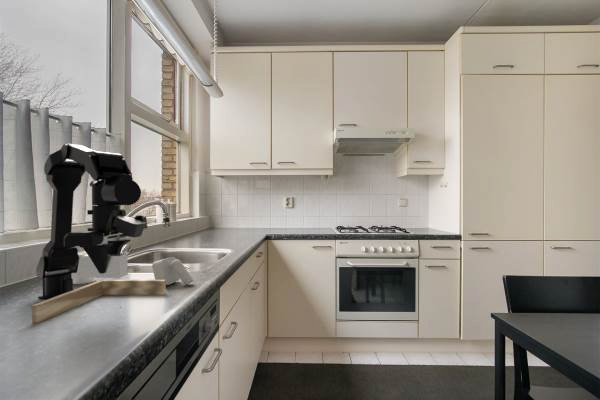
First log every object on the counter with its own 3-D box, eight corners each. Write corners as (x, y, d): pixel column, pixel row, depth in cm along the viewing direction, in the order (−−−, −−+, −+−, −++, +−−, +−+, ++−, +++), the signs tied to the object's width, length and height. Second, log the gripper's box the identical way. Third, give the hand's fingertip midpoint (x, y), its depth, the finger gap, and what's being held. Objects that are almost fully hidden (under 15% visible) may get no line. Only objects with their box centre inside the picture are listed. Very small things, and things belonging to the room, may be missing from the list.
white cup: (102, 280, 108) (102, 252, 108) (76, 286, 102) (76, 255, 102) (91, 278, 113) (91, 250, 113) (65, 282, 106) (65, 253, 106)
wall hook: (186, 287, 97) (179, 255, 97) (158, 293, 99) (151, 262, 99) (200, 280, 104) (193, 251, 105) (173, 286, 106) (166, 258, 107)
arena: (32, 323, 70) (32, 305, 70) (101, 293, 93) (101, 279, 93) (117, 323, 70) (117, 305, 70) (165, 293, 92) (165, 279, 93)
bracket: (82, 277, 72) (81, 256, 72) (98, 272, 77) (98, 252, 77) (119, 277, 71) (119, 255, 71) (133, 272, 77) (133, 252, 77)
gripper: (113, 205, 63) (114, 282, 63) (159, 204, 82) (160, 263, 82) (61, 206, 64) (62, 282, 64) (119, 205, 83) (119, 263, 83)
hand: (107, 271), depth 73 cm, fingers closed on bracket, 3 cm apart
